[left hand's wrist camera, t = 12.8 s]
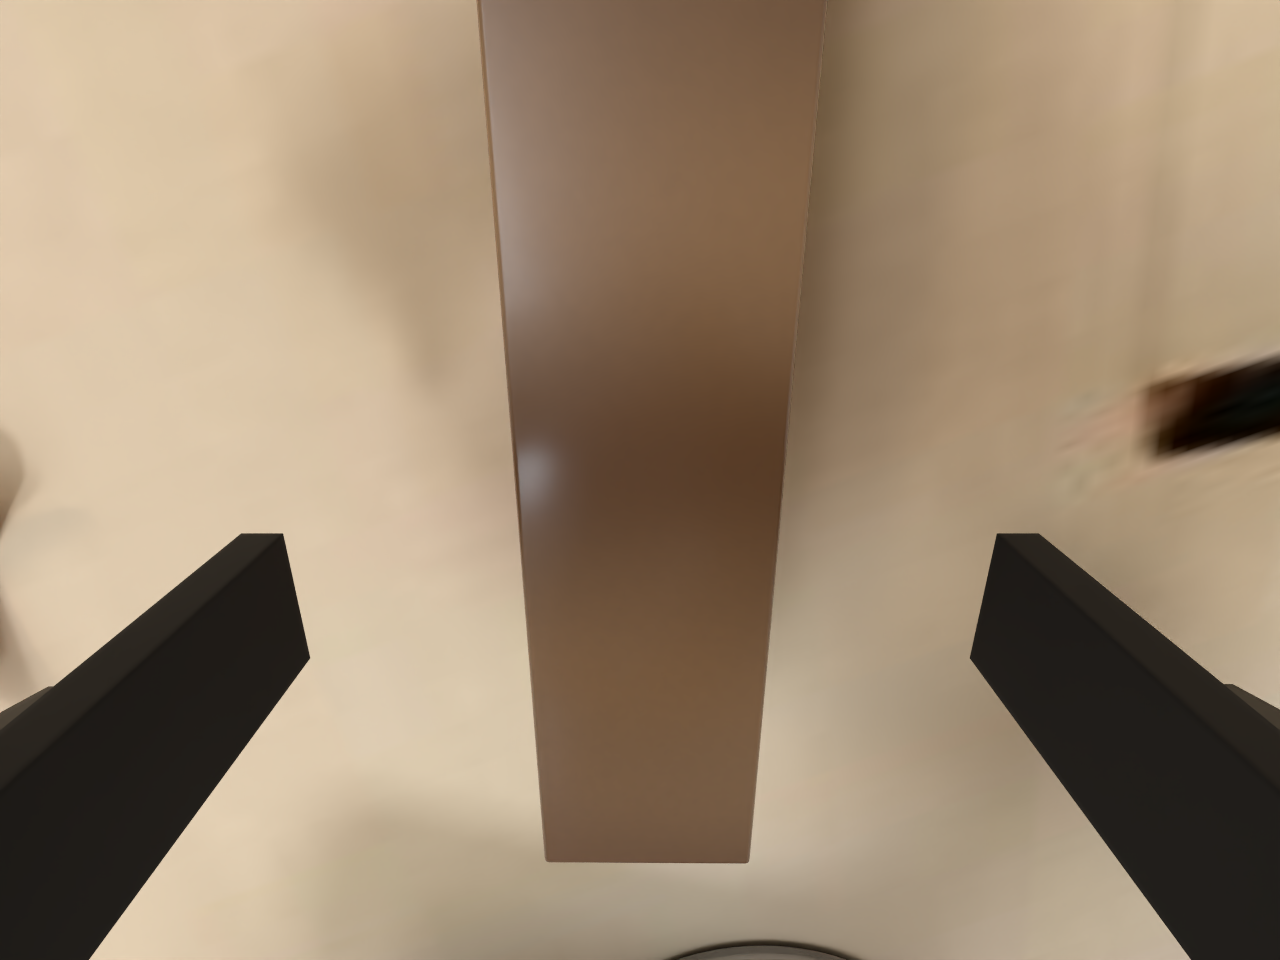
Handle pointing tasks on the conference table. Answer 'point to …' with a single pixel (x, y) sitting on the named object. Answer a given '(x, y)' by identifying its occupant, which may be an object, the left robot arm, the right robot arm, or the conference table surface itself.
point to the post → (649, 393)
